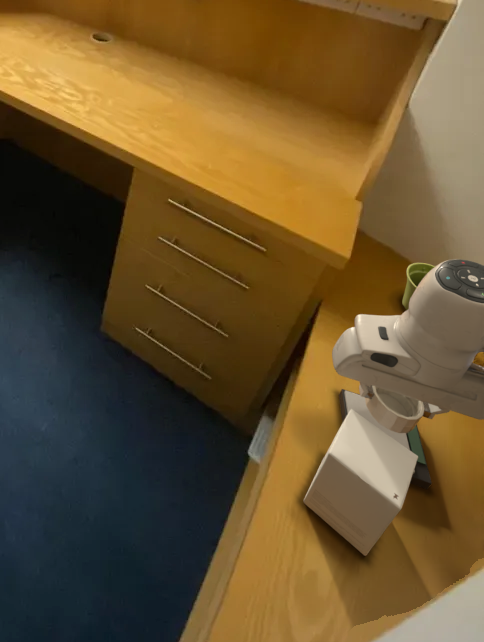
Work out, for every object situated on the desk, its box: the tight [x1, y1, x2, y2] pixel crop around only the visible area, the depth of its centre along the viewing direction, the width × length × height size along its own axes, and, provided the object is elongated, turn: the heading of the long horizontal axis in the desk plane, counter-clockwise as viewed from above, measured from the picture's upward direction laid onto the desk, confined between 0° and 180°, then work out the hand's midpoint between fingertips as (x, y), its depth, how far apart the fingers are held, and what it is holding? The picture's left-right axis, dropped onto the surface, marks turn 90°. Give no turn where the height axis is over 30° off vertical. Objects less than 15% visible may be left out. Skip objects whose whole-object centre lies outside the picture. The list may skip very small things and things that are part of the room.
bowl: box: [365, 386, 424, 433], centre depth 80 cm, size 7×7×4 cm
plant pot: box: [401, 262, 437, 311], centre depth 104 cm, size 9×9×9 cm
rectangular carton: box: [303, 409, 418, 557], centre depth 74 cm, size 9×9×15 cm
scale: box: [338, 388, 433, 490], centre depth 84 cm, size 11×11×3 cm
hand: (393, 403), depth 80 cm, fingers closed on bowl, 7 cm apart
